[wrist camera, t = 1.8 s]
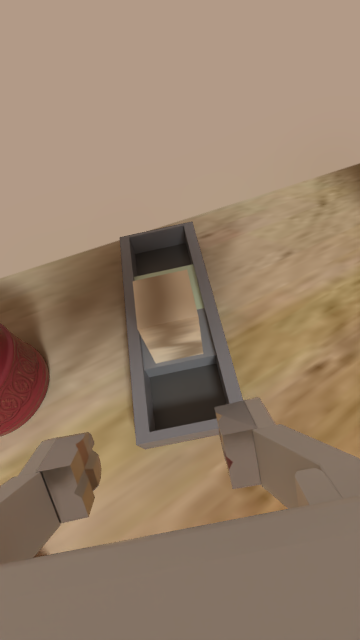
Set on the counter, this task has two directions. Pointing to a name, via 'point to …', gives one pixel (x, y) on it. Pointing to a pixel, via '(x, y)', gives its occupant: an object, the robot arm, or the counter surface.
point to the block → (168, 316)
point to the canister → (19, 381)
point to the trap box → (185, 373)
